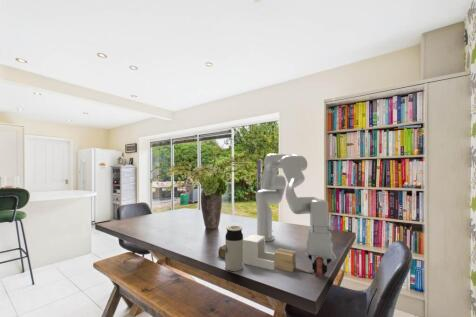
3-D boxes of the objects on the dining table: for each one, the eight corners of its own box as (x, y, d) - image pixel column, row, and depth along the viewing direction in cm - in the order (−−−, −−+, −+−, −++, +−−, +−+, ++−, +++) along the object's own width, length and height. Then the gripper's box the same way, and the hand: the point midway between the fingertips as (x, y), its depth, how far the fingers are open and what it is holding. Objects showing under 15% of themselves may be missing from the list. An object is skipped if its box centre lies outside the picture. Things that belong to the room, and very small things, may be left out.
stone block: (224, 253, 120) (225, 243, 120) (241, 259, 113) (242, 249, 113) (217, 256, 115) (217, 246, 116) (234, 262, 108) (234, 252, 108)
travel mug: (242, 264, 106) (242, 225, 107) (243, 271, 98) (243, 229, 99) (225, 264, 106) (225, 225, 107) (225, 271, 98) (225, 229, 99)
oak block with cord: (279, 263, 107) (278, 248, 108) (324, 273, 97) (324, 256, 98) (274, 268, 102) (274, 252, 102) (322, 278, 92) (322, 261, 92)
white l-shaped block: (252, 255, 116) (252, 234, 117) (280, 261, 109) (280, 238, 109) (242, 263, 107) (243, 239, 107) (273, 270, 100) (273, 244, 100)
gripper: (340, 229, 96) (341, 273, 95) (301, 224, 104) (302, 265, 103) (339, 233, 89) (340, 281, 88) (298, 228, 97) (298, 271, 96)
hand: (319, 272), depth 95 cm, fingers closed on oak block with cord, 3 cm apart
